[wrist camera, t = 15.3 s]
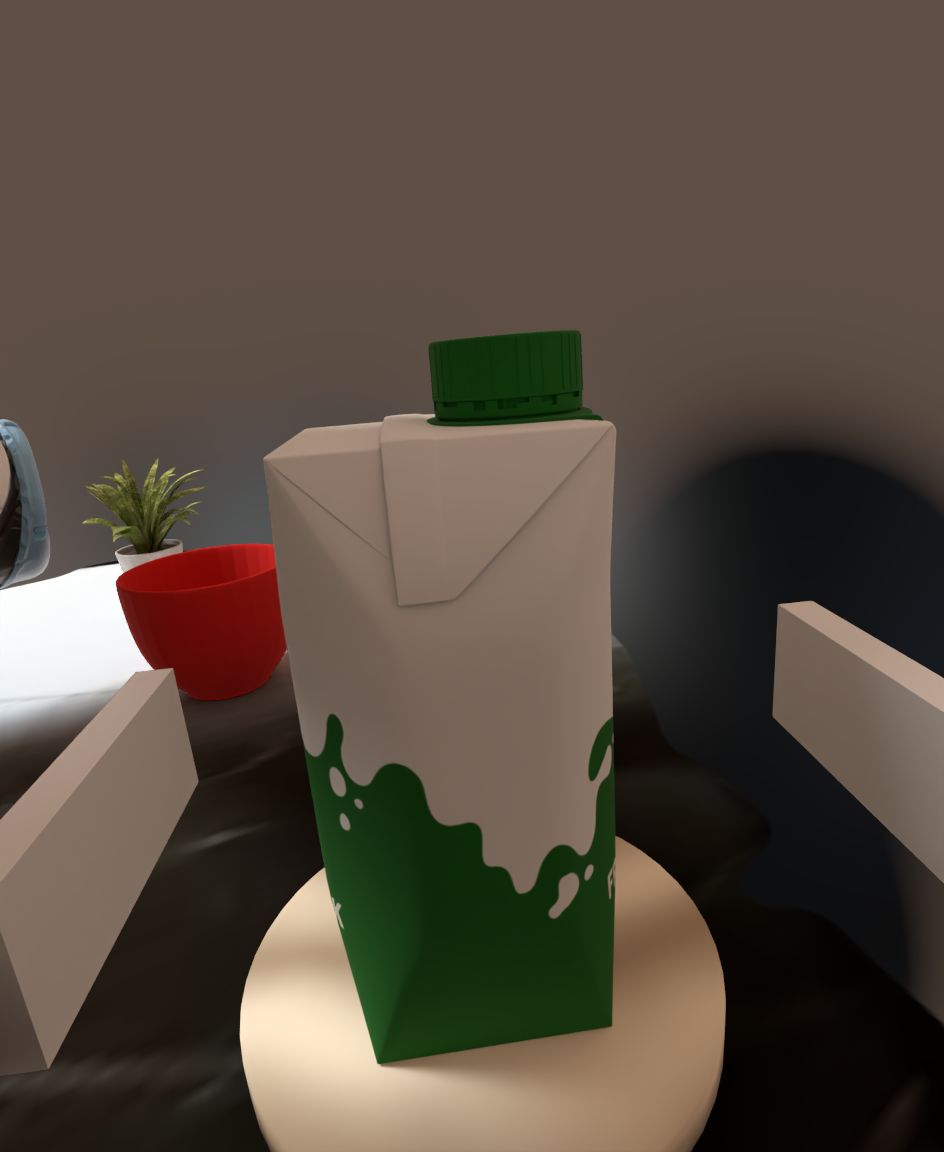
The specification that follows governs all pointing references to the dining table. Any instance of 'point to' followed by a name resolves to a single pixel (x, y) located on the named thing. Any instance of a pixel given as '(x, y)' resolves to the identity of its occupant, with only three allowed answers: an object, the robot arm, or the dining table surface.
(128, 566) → the house plant
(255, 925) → the dining table surface
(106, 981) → the dining table surface
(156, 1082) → the dining table surface
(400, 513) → the soya milk
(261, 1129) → the stand
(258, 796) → the dining table surface
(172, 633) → the ceramic cup
